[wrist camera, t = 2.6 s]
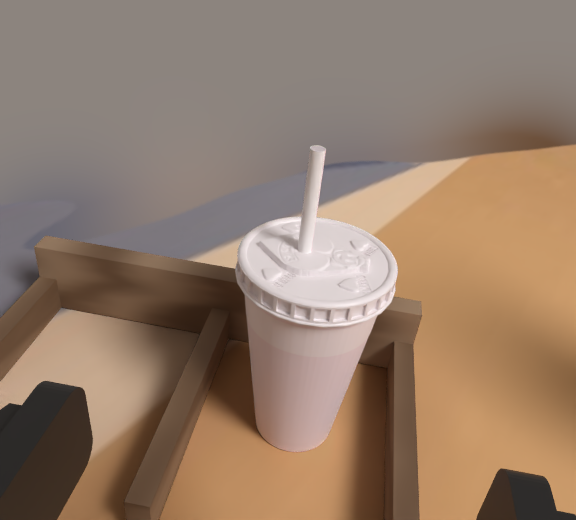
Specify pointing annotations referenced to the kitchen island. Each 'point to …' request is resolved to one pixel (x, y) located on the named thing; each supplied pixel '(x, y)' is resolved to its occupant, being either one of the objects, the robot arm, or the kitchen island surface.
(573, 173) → the kitchen island surface
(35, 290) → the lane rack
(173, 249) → the kitchen island surface
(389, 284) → the smoothie
